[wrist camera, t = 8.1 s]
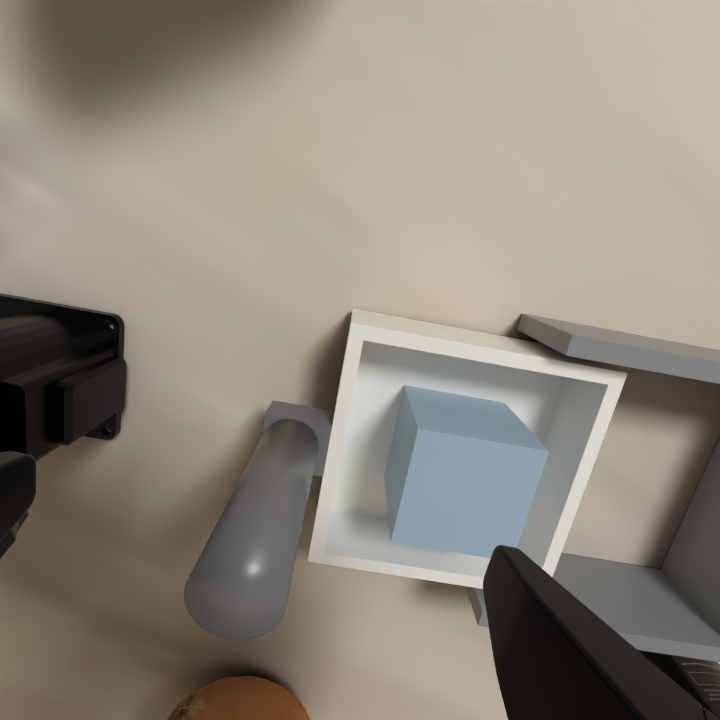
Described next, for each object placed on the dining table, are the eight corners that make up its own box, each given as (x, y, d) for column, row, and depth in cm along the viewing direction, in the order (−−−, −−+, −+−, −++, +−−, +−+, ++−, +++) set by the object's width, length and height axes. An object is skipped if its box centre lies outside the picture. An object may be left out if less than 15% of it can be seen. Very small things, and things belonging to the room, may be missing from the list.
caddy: (265, 502, 23) (169, 758, 11) (294, 297, 20) (204, 366, 8) (515, 542, 23) (661, 824, 12) (579, 350, 20) (853, 480, 9)
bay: (454, 548, 24) (477, 625, 19) (521, 313, 20) (572, 334, 15) (668, 582, 24) (744, 665, 19) (771, 360, 21) (895, 394, 16)
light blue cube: (383, 475, 21) (390, 542, 17) (404, 384, 20) (418, 428, 15) (478, 491, 22) (511, 561, 17) (504, 402, 20) (549, 450, 16)
